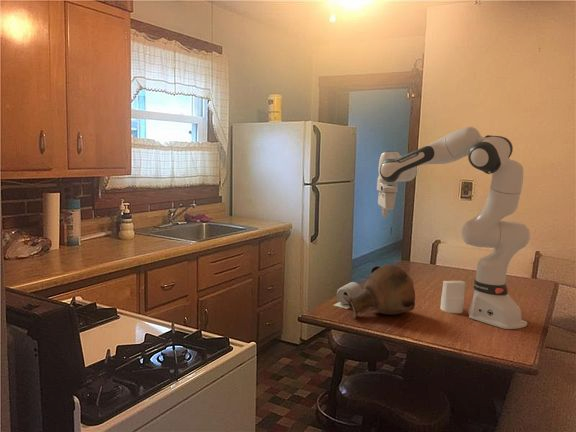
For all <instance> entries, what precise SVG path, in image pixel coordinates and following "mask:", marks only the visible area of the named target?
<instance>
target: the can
mask: <svg viewBox="0 0 576 432" xmlns="http://www.w3.org/2000/svg"><path fill="white" fill-rule="evenodd" d="M362 293H363V289H362V286H361V285H360V284H359V283H358V282H355V281H351V282H349V283H347V284H345V285H343V286H341V287H340V288H338V289H337V292H336V299H337V301H338V302H340V303H342V304H349V303H348V302H347V301H345V300H344V298H343V296H344V295H347V296H348V297H349V298H356V297H358V296H360V295H361V294H362Z"/></svg>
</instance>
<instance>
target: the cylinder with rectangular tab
mask: <svg viewBox="0 0 576 432" xmlns="http://www.w3.org/2000/svg"><path fill="white" fill-rule="evenodd" d="M442 282H443V283H442V291H441V292H442V293H441V297H440V298H441V299H440V310H441V311H443V312H444V313H445V312H446V313H450V314H462V313H463V312H464V306H465V305H464V304H465V291H466V290H465V289H466V288H465V287H466V282H465V281H463V280H443V281H442Z"/></svg>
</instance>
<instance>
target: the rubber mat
mask: <svg viewBox="0 0 576 432" xmlns="http://www.w3.org/2000/svg"><path fill="white" fill-rule="evenodd" d="M332 306H333V307H335V308H341V309H345V310H349V309H350V308H351V307H349V304H342V303H340V302H339V301H338V302H336V303H334V304H333V305H332ZM351 309H352V308H351Z"/></svg>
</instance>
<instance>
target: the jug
mask: <svg viewBox="0 0 576 432" xmlns="http://www.w3.org/2000/svg"><path fill="white" fill-rule="evenodd" d="M366 279H367V280H366V281H365V283H364V285H363V291H362V294H361V295H360V296H358V297H356V298H349V297H348V296H347V295H344V296H343V298H344V300H345V301H347V302H348V303H349V307H351V309H352V311H353V318H354V319H356V318H357V315H358V314H359V312H360V311H362V310H364V309H368V308H370V310H371V311H375V312H377V313H379V314H383V315H387V316H389V315H394V316H395V315H399V314H402V313H405V312H411V311H413V310H414V309H415V306H416V290H415V287H414V281H413V278H412V277H411V276H409V274H408V273H407V272H406V271H405V270H404V269H403V268H402V267H401V266H399V265H397V264H391V263H390V264H385V265H382V266H378V265H377V266H373V267H372V268H371V270H370V274H369V276H368V278H366Z"/></svg>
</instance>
